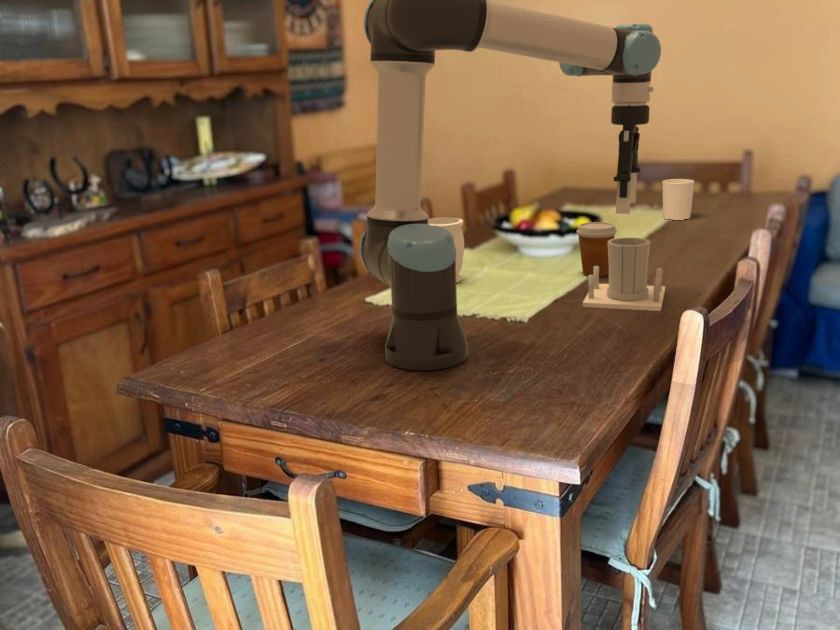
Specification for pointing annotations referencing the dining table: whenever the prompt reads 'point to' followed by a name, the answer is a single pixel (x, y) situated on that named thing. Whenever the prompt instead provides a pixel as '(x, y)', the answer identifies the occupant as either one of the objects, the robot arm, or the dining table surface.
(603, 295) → the beige flat pegged board
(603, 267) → the disposable coffee cup
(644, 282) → the cup
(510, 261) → the dining table surface
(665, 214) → the candle holder
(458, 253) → the jar
